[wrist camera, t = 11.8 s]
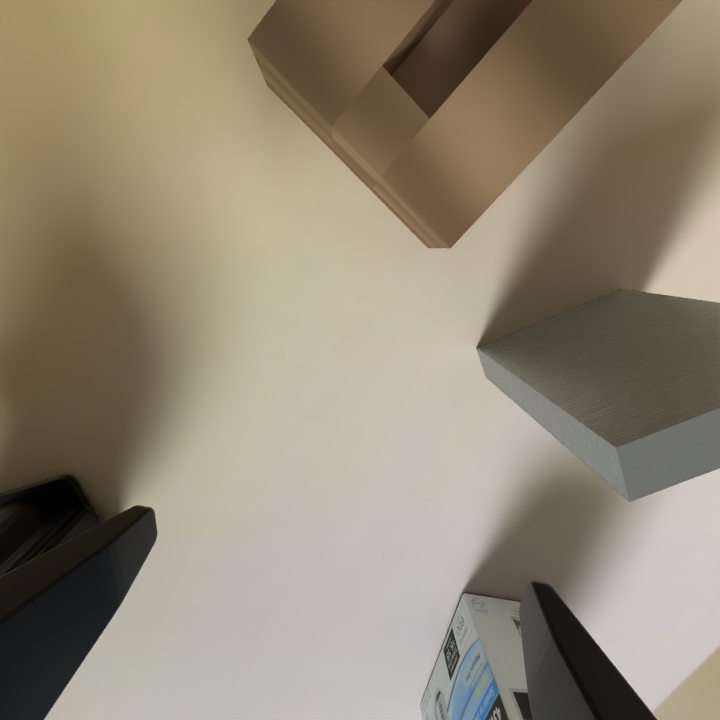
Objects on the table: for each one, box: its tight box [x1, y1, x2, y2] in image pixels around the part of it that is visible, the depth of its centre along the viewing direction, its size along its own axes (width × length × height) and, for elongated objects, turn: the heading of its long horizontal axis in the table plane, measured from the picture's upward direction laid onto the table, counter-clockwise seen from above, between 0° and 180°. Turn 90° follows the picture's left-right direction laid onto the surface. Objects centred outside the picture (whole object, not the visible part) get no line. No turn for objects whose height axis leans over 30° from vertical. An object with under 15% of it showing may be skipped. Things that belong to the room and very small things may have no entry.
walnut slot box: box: [248, 0, 682, 248], centre depth 15 cm, size 14×10×4 cm
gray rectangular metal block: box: [476, 289, 720, 502], centre depth 16 cm, size 8×2×11 cm, turn 112°
